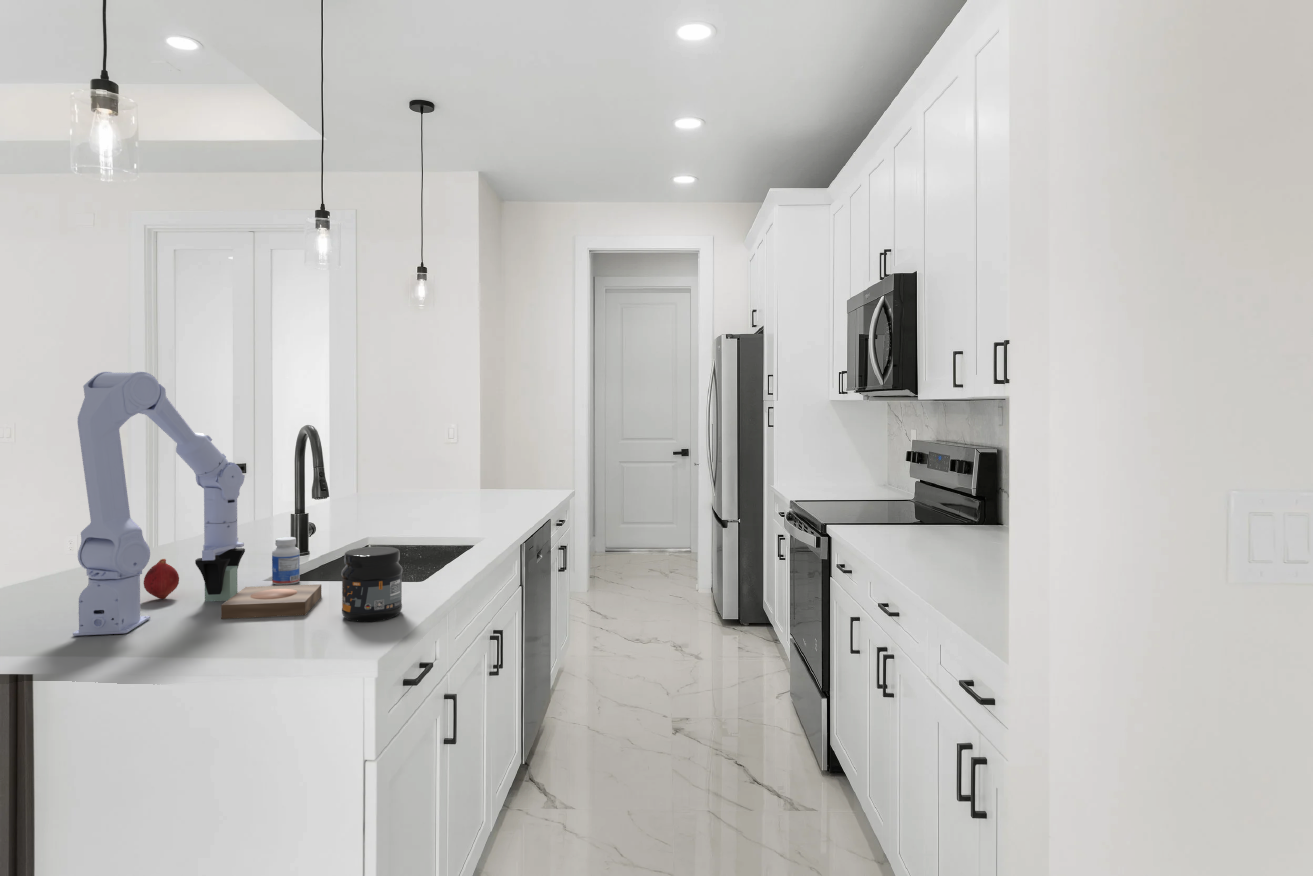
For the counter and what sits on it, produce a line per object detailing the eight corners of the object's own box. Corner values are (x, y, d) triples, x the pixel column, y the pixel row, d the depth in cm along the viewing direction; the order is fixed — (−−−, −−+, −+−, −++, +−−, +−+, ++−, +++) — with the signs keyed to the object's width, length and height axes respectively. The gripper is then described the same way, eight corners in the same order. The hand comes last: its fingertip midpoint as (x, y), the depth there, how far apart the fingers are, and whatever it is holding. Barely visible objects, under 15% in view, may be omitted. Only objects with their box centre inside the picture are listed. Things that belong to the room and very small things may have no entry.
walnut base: (305, 615, 138) (305, 601, 138) (221, 618, 135) (221, 604, 135) (321, 596, 152) (321, 584, 151) (245, 599, 148) (245, 586, 148)
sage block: (230, 600, 148) (229, 570, 147) (204, 601, 147) (204, 571, 146) (237, 595, 152) (237, 565, 152) (212, 596, 151) (212, 566, 151)
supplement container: (342, 610, 142) (342, 547, 141) (401, 606, 145) (401, 544, 145) (340, 625, 132) (340, 558, 131) (403, 620, 136) (403, 554, 135)
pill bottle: (272, 581, 164) (272, 537, 164) (299, 579, 167) (299, 535, 166) (271, 586, 159) (271, 541, 159) (299, 584, 162) (299, 539, 161)
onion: (150, 604, 144) (150, 563, 144) (139, 599, 147) (138, 559, 147) (184, 598, 148) (183, 558, 148) (172, 594, 152) (171, 554, 152)
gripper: (230, 527, 143) (231, 597, 143) (253, 516, 157) (254, 580, 157) (189, 527, 141) (190, 599, 142) (216, 516, 155) (217, 581, 156)
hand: (221, 589), depth 149 cm, fingers open, 7 cm apart
